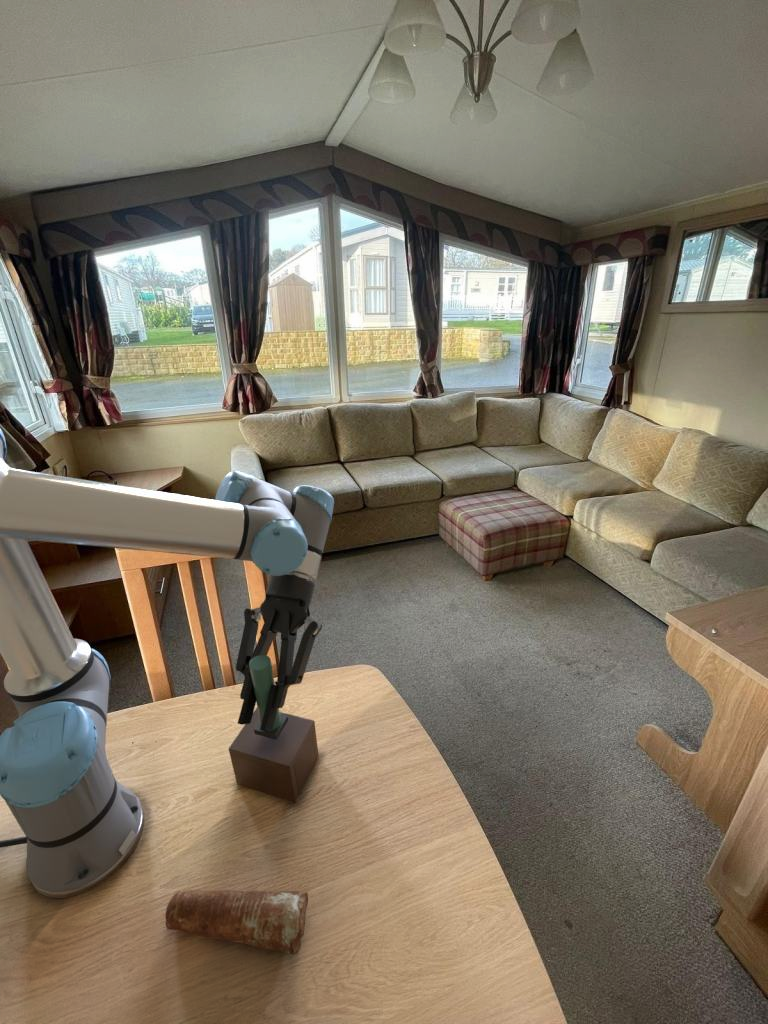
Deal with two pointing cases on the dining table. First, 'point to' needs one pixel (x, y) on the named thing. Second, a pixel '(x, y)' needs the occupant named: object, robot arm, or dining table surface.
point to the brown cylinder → (242, 916)
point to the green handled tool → (265, 694)
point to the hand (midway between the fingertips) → (255, 726)
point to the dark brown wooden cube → (275, 757)
